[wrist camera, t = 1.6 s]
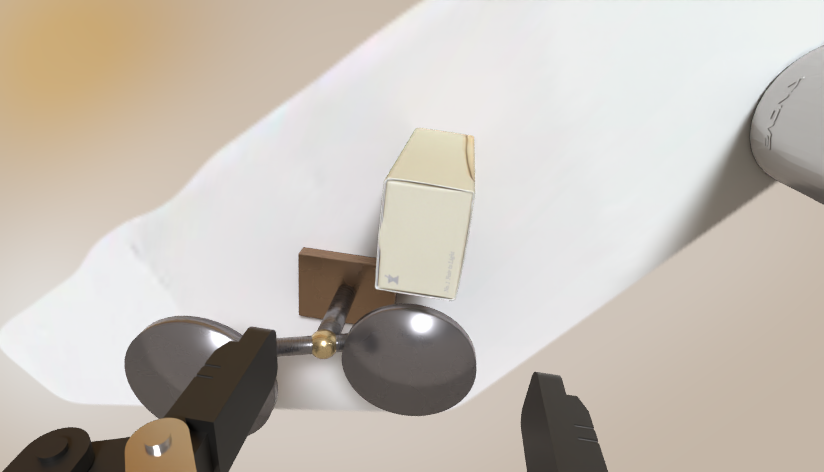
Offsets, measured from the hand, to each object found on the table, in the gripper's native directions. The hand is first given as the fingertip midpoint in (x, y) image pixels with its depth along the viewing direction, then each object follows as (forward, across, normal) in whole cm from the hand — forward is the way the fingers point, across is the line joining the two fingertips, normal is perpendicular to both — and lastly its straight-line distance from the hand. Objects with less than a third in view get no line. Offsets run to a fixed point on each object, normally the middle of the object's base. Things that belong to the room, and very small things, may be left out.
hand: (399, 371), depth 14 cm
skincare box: (+21, 0, 0) cm, 21 cm away
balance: (+21, +6, +11) cm, 24 cm away
